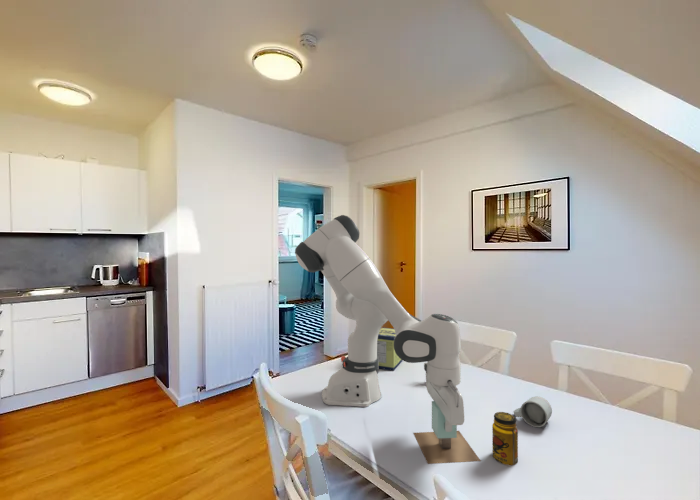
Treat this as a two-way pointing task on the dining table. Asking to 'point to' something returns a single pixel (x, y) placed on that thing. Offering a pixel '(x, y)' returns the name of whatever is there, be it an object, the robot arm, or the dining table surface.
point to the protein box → (387, 350)
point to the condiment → (505, 438)
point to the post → (445, 443)
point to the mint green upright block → (441, 424)
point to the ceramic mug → (535, 411)
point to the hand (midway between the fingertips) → (443, 423)
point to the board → (438, 455)
